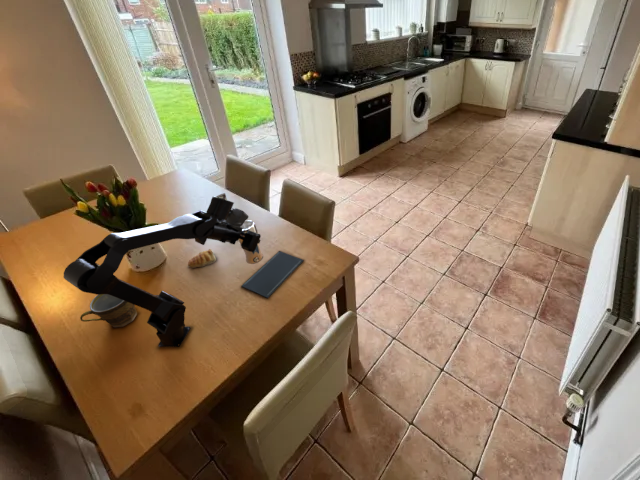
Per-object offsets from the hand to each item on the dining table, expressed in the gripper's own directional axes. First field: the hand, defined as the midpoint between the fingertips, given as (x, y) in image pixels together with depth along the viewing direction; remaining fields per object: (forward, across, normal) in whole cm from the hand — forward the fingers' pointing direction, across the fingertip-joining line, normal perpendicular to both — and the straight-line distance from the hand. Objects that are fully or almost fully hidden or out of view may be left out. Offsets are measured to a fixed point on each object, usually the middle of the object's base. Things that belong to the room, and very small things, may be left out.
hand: (252, 238), depth 115 cm
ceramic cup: (-18, +21, +38) cm, 46 cm away
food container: (+20, +37, -1) cm, 42 cm away
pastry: (+4, +20, +16) cm, 26 cm away
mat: (+9, -8, +10) cm, 16 cm away
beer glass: (+5, -1, +7) cm, 9 cm away
